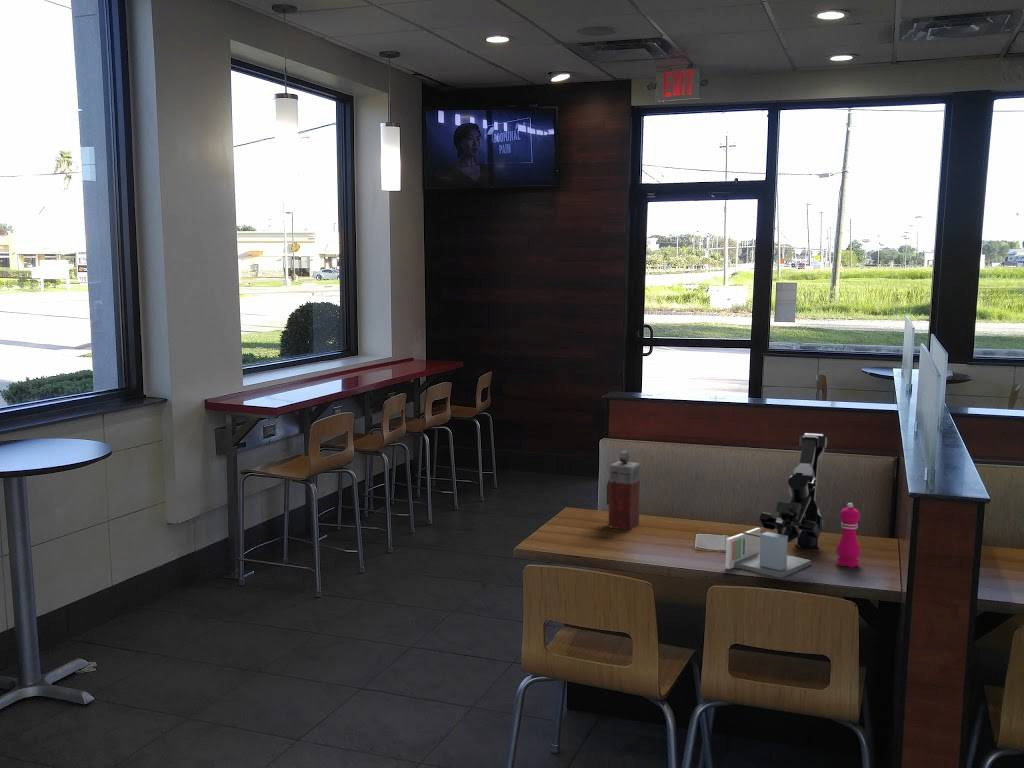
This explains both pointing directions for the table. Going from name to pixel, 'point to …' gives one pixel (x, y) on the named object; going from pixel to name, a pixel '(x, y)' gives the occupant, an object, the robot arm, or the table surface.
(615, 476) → the red square canister
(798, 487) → the robot arm
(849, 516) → the pepper mill
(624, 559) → the table surface
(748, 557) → the gauge stand
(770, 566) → the gauge carriage
